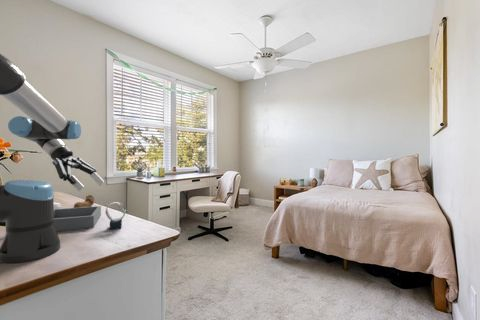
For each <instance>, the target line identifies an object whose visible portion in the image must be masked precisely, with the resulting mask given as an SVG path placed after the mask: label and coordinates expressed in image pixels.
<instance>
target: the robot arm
mask: <svg viewBox="0 0 480 320" xmlns="http://www.w3.org/2000/svg"><path fill="white" fill-rule="evenodd" d="M0 96H1V97H3V98H4V99H6V100H7V101H9V103H11V104H12V105H14V106H15V107H16V109H19V110H20V111H22V112H23V113H24V114H25V115H26V116H28V117H25V116H21V115H19V116H14V117H12V118H11V119H10V120H9V121H8V125H7V129H8V130H9V132H10V133H11V134H13V135H15V136H17V137H19V138H22V139H26V140H28V141H32V142H35V143H36V144H37V145H38V146H39V147H40V148H41V149H42V150H43V151H44V152H45V153H46V154H47V155H48V156H49V157H50V158H51V159H52V160H53V161H52V164H53V165H54V167H55V170H56V172H57V175H58V178H59V179H61V180H63V181H64V182H66V181H68V182H69V183H70V184H71V185H72V186H73V187H74V188H75V189H76V190H77V191H78V192H81V190H83V189H84V187H85V185H84V184H83V183H81V181H79V179H78V178H77V176H75V175H74V174H72V170H71V169H76V170H77V169H78V170H80V171H82V172H84V173H86V174H88V175H90V176H89V177H90V178H91V179H93V180H94V182H95V183H97V184H98V186H102V185H104V183H105V181H104V179H103V178H102V177H101V176H100V175H99V174H98V173H97V171H98V169H97V168H95V166H93V165H91V164H89V162H86V161H85V160H83V159H82V158H81V157H80V156H77V157H75V156H74V155H73V154H74V152H73V151H72V150H71V149H70V148H69V147H68V146H67V145H66V144H65V143H64V142H63V141H62V140H69V141H70V140H78V139H79V138H80V137H81V135H82V126H81V124H80V123H79V121H76V120H68V119H66V118H65V117H64V115H62V114H61V112H59V111H58V110H57V108H55V107H54V106H53V105H52V104H51V103H50V102H49V101H48V100H47V99H45V98H44V96H43V95H42V94H40V92H38V91H37V89H35V88H34V86H32V85H31V84H30V83H29V82H28V81H27V80H26V76H25V74H24V72H23V71H22V70H21V69H20V67H18V66H17V65H16V64H15V63H13V61H11V60H10V59H9V58H7V57H6V56H5V55H3V54H1V53H0ZM4 183H5V184H1V183H0V223H5V235H4V238H3V240H2V243H1V244H0V261H2V262H1V263H3V262H7V263H6V264H16V263H25V262H30V261H34V260H39V259H43V258H45V257H47V256H49V255H52V254H55V253H57V252H58V251H59V250H60V249H61V239H60V237H59V234H58V231H56V230H55V228H54V208H53V202H54V198H55V195H54V188H53V185H52V184H51V183H49V182H46V181H43V180H42V181H41V180H30V179H29V180H24V179H17V180H8V181H6V182H4Z"/></svg>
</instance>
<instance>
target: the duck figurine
mask: <svg viewBox="0 0 480 320" xmlns="http://www.w3.org/2000/svg"><path fill="white" fill-rule="evenodd" d="M53 208H54V209H62V204H61V203H59V202H55V201H53Z"/></svg>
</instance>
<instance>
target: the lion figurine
mask: <svg viewBox="0 0 480 320" xmlns="http://www.w3.org/2000/svg"><path fill="white" fill-rule="evenodd" d="M94 203H95V196H94V195H93V194H88V195H86V196H85V201H84V200H83V201H76V202H75V203H74V205H73V207H72V208H79V207H93V205H94Z"/></svg>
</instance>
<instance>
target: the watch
mask: <svg viewBox="0 0 480 320" xmlns="http://www.w3.org/2000/svg"><path fill="white" fill-rule="evenodd" d="M113 205H117V207H118V210H119V211H120V212H121V213H122V214H123V215H122V216H121V217H119V218H113V217H112V216H111V215H110V212H109V210H108V208H109V207H110V206H113ZM126 213H127V209H126V208H125V206H124V204H123V203H122V201H121V202H119V201H114V202H110V203H109V204H108V205H107V206H106V208H105V215H106V217H107V219H109V220H110V221H109V231H111V230H114V231H115V230H121V229H122V225H123V218H124V217H125V216H126Z"/></svg>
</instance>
